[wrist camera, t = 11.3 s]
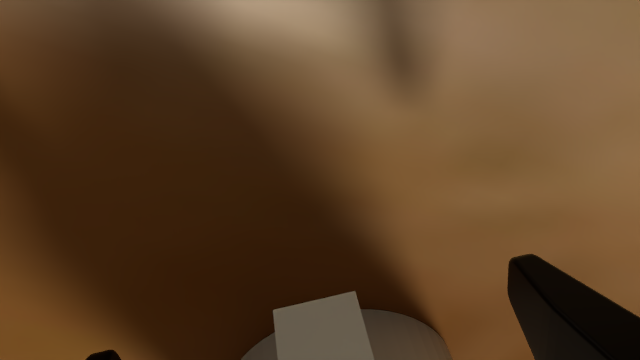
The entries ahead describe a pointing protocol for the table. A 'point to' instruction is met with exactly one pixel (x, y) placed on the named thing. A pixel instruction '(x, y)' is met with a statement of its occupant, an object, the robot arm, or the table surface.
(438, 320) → the table surface
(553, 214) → the table surface
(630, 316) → the robot arm
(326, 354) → the jug
